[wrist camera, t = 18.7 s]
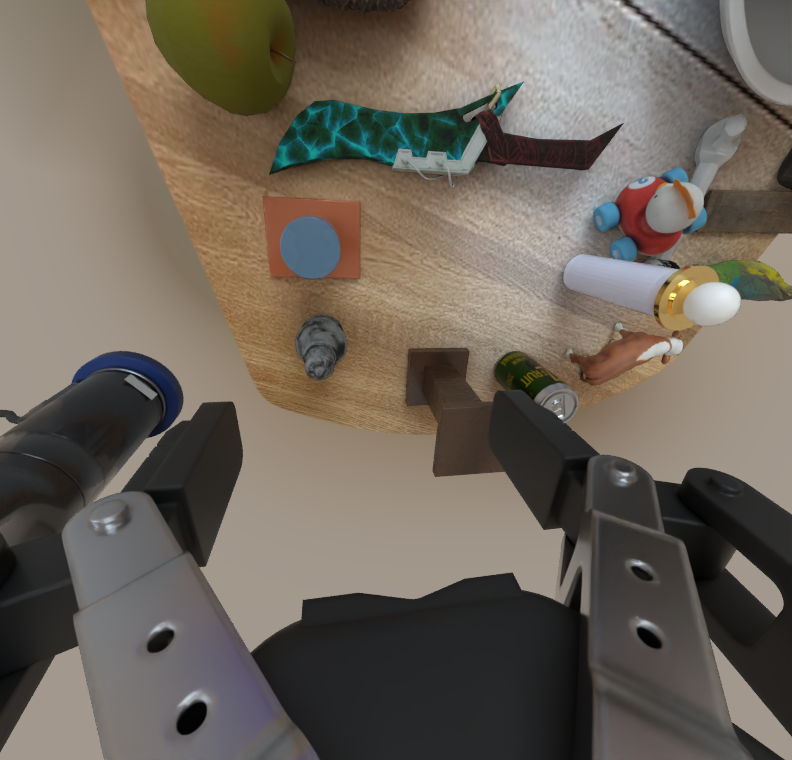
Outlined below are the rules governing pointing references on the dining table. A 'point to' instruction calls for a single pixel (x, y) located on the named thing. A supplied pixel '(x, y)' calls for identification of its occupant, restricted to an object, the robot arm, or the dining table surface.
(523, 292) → the dining table surface
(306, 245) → the blue cylinder
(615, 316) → the dining table surface
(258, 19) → the apple
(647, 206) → the toy car
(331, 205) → the tile
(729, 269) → the bird model
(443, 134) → the knife
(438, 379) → the stand
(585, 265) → the perfume bottle
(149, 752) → the robot arm
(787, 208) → the wooden plank
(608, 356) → the bull figurine
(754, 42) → the soup bowl
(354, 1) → the decorative stone
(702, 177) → the bone
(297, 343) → the chess piece
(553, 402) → the beer can
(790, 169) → the stone
